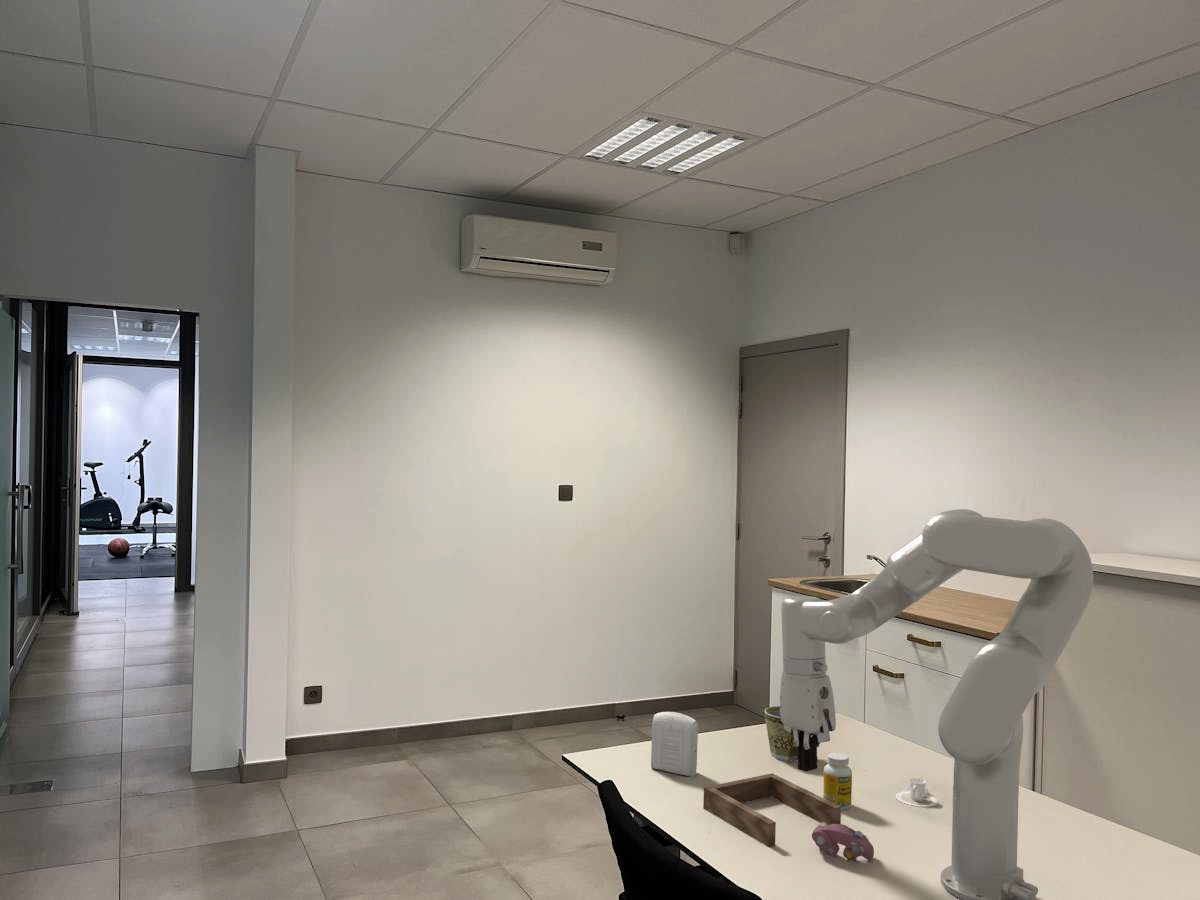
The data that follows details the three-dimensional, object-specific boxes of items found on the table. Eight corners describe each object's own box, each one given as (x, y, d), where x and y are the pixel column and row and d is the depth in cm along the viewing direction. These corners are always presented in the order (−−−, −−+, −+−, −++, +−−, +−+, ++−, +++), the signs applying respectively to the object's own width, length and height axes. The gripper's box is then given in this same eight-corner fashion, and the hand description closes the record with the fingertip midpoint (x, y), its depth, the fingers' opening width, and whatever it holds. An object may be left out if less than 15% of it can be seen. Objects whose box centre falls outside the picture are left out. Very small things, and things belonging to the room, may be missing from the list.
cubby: (840, 828, 164) (841, 806, 164) (768, 846, 156) (769, 823, 156) (771, 793, 181) (772, 773, 181) (703, 808, 172) (703, 787, 172)
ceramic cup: (755, 750, 207) (756, 707, 207) (794, 747, 210) (795, 704, 210) (783, 770, 194) (784, 723, 194) (824, 766, 197) (825, 720, 197)
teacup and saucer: (913, 790, 185) (914, 770, 185) (948, 802, 179) (948, 782, 179) (887, 799, 180) (887, 778, 180) (922, 812, 174) (922, 791, 174)
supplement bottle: (836, 797, 179) (837, 749, 179) (857, 807, 175) (858, 757, 175) (817, 803, 176) (818, 754, 176) (838, 812, 172) (839, 762, 172)
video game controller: (812, 859, 155) (807, 829, 152) (820, 839, 158) (815, 809, 156) (870, 875, 150) (865, 844, 147) (877, 853, 153) (872, 823, 150)
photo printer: (699, 772, 192) (701, 714, 192) (691, 778, 188) (693, 719, 188) (656, 763, 197) (657, 706, 197) (647, 769, 193) (649, 711, 193)
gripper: (850, 670, 157) (854, 776, 156) (791, 657, 170) (795, 755, 169) (818, 675, 153) (821, 784, 152) (761, 661, 166) (764, 762, 165)
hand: (807, 769), depth 161 cm, fingers closed
